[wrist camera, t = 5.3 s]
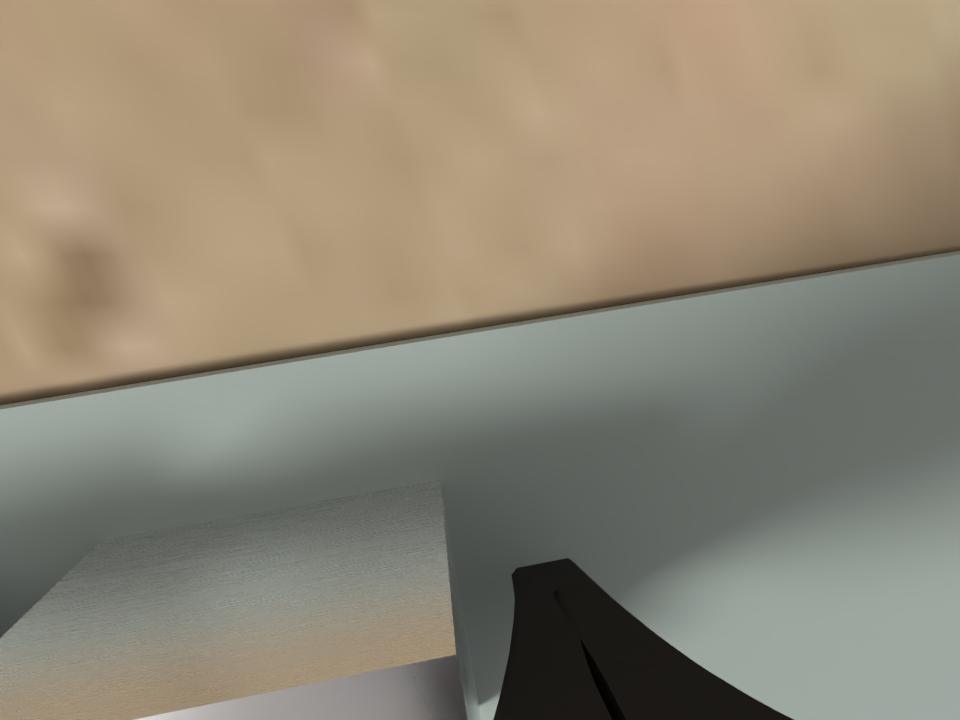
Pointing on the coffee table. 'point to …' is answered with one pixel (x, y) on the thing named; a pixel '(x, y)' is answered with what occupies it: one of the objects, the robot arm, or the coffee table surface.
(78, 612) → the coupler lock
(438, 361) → the mat
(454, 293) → the coffee table surface
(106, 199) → the coffee table surface
